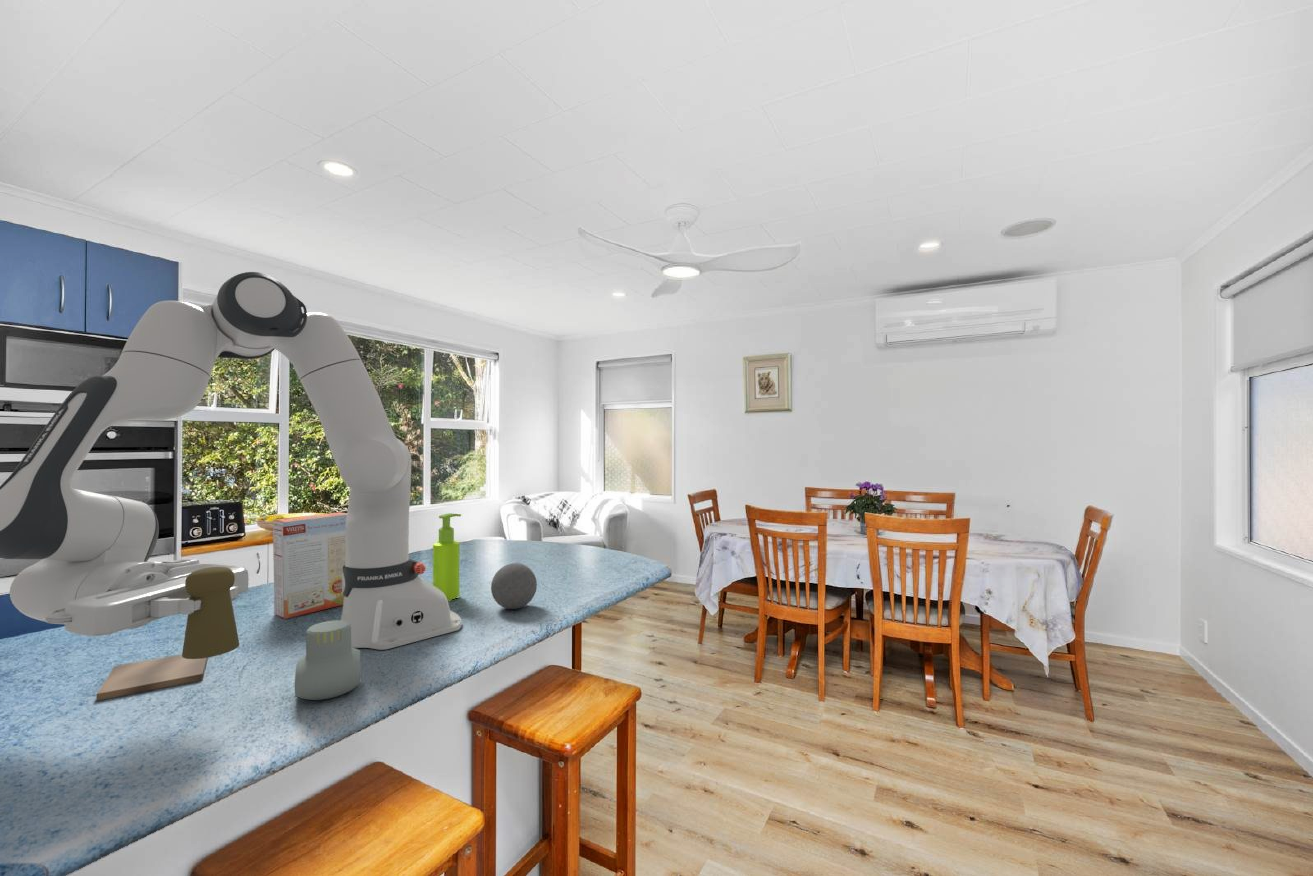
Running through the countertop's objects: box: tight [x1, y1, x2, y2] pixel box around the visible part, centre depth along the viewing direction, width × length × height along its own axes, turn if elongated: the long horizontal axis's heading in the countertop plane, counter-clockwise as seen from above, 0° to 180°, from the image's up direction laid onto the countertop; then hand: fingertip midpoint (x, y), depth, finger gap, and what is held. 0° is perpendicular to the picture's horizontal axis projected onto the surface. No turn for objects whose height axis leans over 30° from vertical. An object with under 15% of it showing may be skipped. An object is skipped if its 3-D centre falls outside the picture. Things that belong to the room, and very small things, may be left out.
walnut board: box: [96, 653, 209, 701], centre depth 89 cm, size 12×12×1 cm
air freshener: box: [294, 619, 362, 701], centre depth 84 cm, size 11×8×10 cm
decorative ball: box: [490, 562, 538, 610], centre depth 125 cm, size 10×10×10 cm
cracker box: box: [272, 511, 347, 620], centre depth 124 cm, size 14×6×21 cm, turn 144°
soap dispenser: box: [432, 513, 462, 601], centre depth 133 cm, size 6×7×20 cm
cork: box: [181, 567, 240, 659], centre depth 74 cm, size 6×6×11 cm
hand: (215, 600), depth 74 cm, fingers closed on cork, 4 cm apart
